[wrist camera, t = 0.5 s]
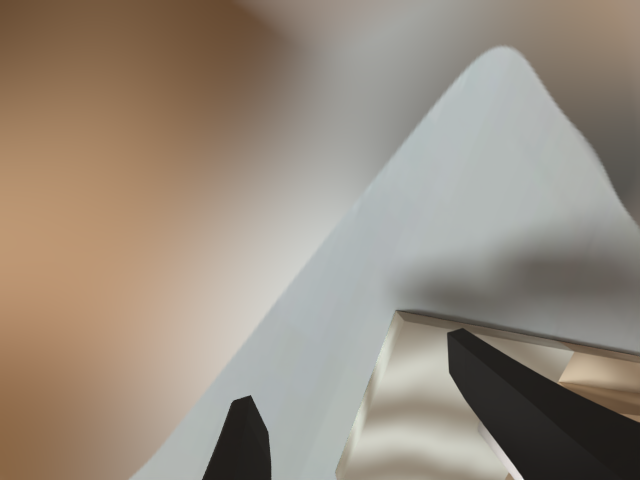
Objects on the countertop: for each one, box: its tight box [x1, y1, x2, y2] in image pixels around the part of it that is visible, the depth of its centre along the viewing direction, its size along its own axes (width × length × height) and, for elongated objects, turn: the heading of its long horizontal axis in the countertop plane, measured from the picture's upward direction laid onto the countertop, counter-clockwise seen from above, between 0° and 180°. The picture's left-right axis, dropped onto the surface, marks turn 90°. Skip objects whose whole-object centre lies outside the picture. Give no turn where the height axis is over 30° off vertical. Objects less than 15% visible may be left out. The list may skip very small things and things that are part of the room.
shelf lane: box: [335, 311, 640, 480], centre depth 25 cm, size 16×26×4 cm, turn 74°
